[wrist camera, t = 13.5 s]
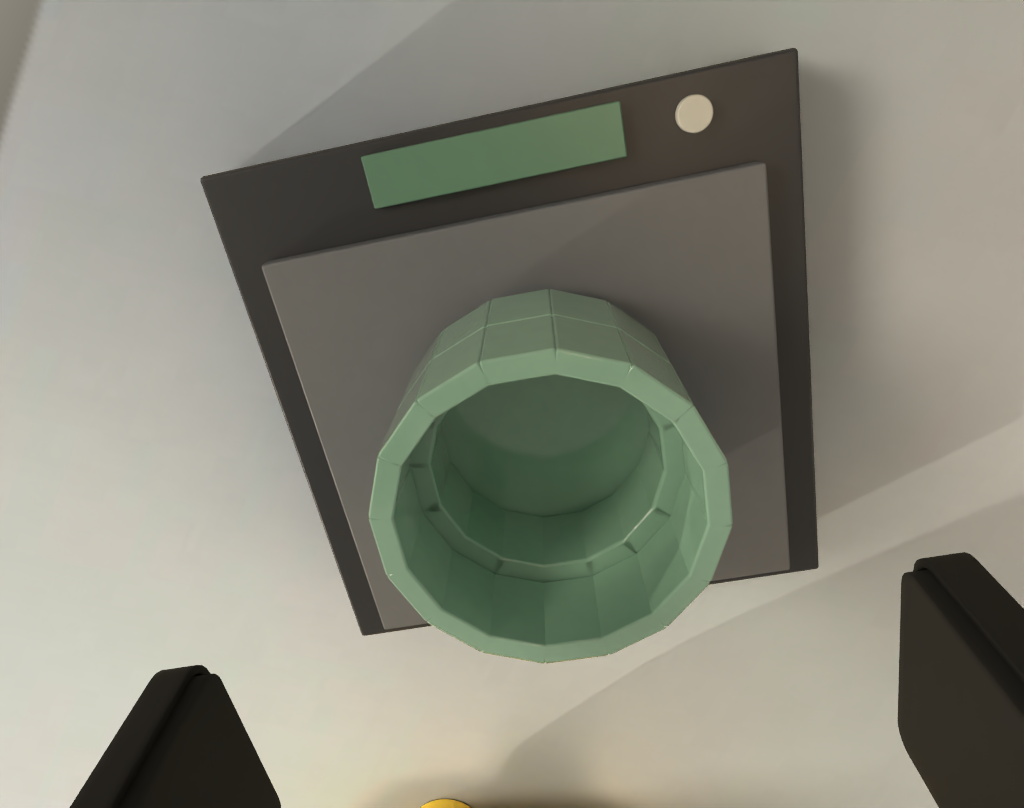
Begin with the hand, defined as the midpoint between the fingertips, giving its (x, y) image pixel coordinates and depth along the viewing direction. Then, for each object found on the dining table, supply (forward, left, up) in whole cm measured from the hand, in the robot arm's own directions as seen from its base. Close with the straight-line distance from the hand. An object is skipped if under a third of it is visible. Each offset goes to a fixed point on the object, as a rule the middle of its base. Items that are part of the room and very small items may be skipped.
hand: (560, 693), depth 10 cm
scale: (0, 0, -12) cm, 12 cm away
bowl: (0, 0, -9) cm, 9 cm away
